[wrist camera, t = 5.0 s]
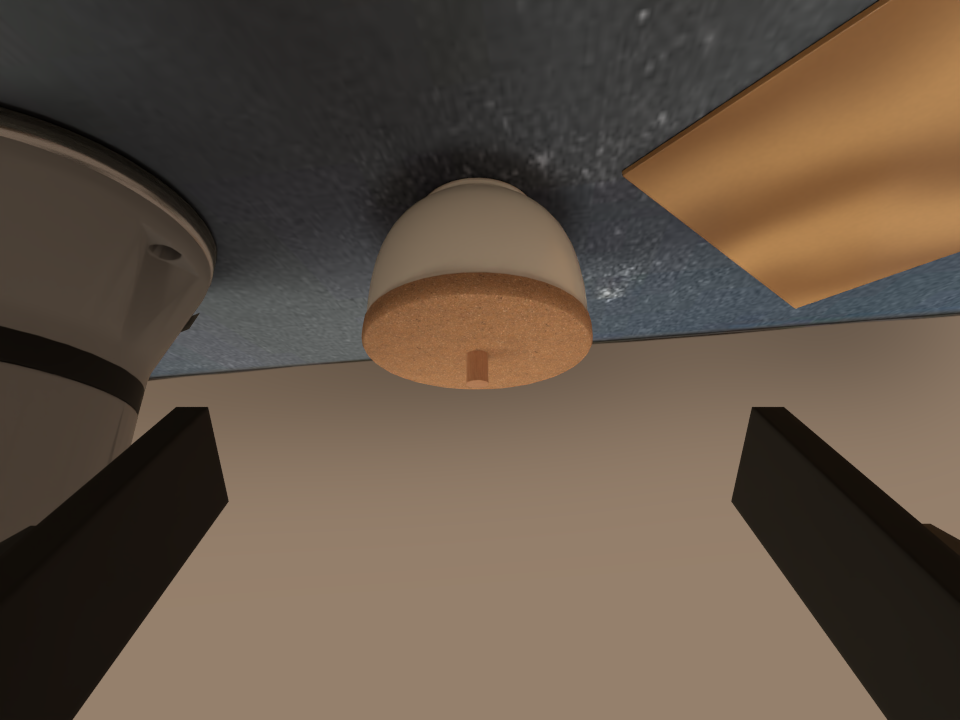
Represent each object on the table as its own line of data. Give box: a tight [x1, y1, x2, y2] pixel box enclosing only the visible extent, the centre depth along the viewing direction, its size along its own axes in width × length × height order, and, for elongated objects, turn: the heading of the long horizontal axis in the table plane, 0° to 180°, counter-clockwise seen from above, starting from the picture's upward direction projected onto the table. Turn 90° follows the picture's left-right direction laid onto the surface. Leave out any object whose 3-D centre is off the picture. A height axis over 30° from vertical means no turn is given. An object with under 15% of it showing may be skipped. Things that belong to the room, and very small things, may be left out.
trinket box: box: [362, 178, 593, 389], centre depth 26 cm, size 11×11×9 cm
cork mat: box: [622, 0, 960, 308], centre depth 23 cm, size 20×20×1 cm
